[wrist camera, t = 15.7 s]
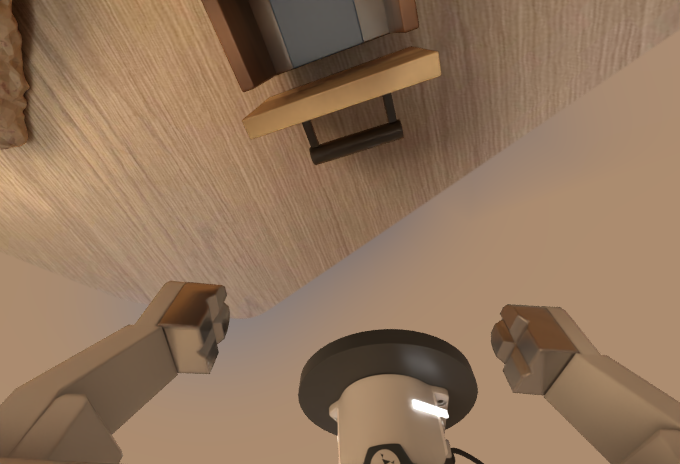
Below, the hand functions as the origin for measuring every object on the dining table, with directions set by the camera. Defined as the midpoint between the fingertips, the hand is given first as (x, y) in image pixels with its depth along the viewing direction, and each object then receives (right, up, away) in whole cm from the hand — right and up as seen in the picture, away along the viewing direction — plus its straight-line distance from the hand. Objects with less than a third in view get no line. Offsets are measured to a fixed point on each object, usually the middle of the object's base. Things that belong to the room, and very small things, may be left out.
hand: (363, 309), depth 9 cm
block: (-1, +14, +11) cm, 18 cm away
